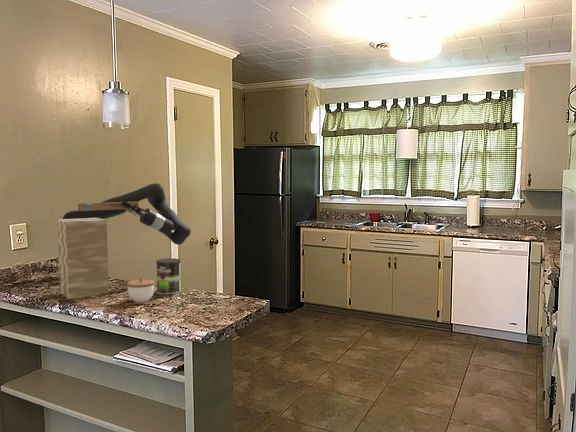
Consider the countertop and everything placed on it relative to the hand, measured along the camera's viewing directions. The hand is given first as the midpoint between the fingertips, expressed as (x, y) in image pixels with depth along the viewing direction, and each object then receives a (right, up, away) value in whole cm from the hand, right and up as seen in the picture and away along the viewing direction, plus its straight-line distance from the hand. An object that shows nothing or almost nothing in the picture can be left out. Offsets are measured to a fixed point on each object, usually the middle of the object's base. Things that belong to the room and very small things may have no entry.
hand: (120, 202), depth 211 cm
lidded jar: (+16, -41, -20) cm, 48 cm away
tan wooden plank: (-4, -3, -3) cm, 6 cm away
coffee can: (+23, -40, -6) cm, 46 cm away
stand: (-13, -40, -8) cm, 42 cm away
